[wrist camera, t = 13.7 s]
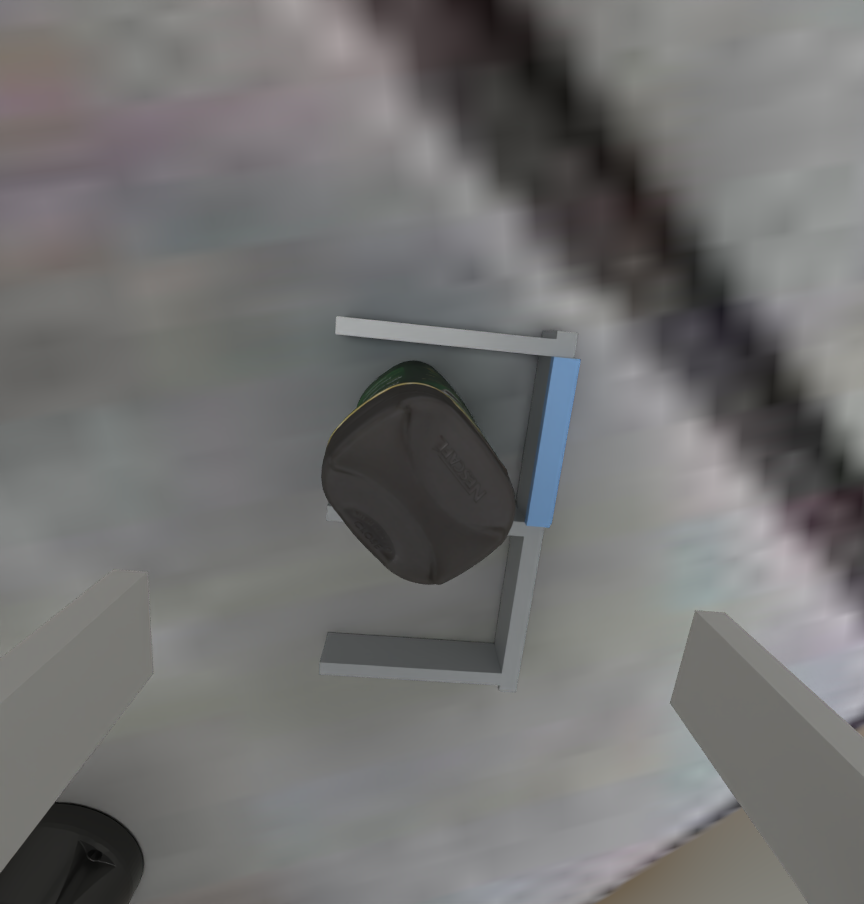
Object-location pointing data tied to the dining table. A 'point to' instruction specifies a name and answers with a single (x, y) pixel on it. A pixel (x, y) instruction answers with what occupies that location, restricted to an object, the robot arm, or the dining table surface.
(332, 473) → the coffee jar
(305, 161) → the dining table surface
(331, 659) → the divided storage rack
